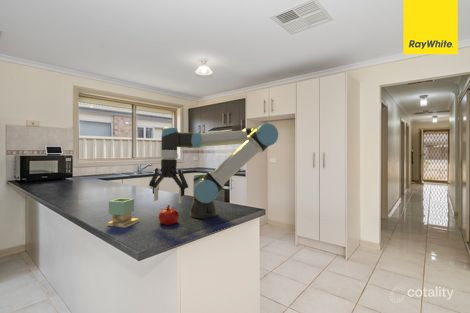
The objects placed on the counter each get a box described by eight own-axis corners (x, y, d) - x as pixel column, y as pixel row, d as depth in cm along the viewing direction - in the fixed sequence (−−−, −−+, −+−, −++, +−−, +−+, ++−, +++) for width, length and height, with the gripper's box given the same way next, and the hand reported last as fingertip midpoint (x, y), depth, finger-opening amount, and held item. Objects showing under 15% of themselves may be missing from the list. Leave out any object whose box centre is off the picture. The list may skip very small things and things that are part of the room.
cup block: (134, 211, 123) (134, 198, 123) (123, 215, 115) (123, 202, 115) (120, 210, 125) (120, 198, 125) (108, 214, 117) (108, 201, 117)
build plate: (138, 221, 124) (139, 210, 124) (125, 227, 114) (125, 215, 114) (121, 219, 127) (121, 209, 126) (107, 225, 117) (107, 214, 117)
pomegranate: (162, 228, 116) (162, 208, 115) (155, 222, 124) (155, 204, 123) (182, 224, 121) (182, 205, 121) (174, 219, 129) (174, 201, 129)
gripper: (195, 159, 122) (194, 201, 123) (151, 157, 128) (150, 198, 129) (189, 160, 115) (188, 205, 115) (142, 158, 121) (141, 201, 121)
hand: (168, 201), depth 122 cm, fingers open, 13 cm apart
